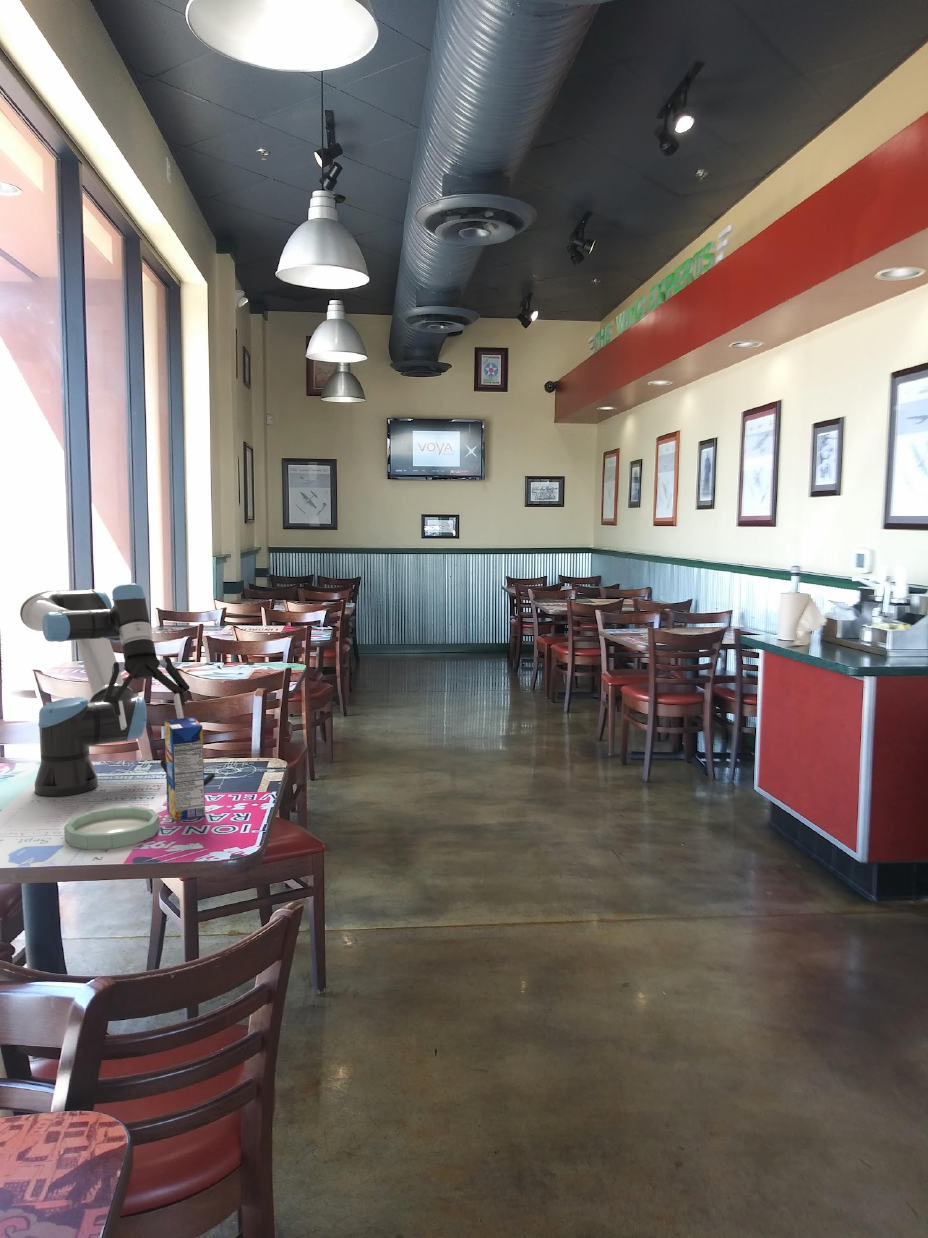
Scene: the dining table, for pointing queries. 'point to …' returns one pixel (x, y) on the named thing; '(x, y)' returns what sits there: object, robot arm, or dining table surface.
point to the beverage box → (184, 768)
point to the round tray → (111, 827)
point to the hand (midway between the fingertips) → (153, 724)
